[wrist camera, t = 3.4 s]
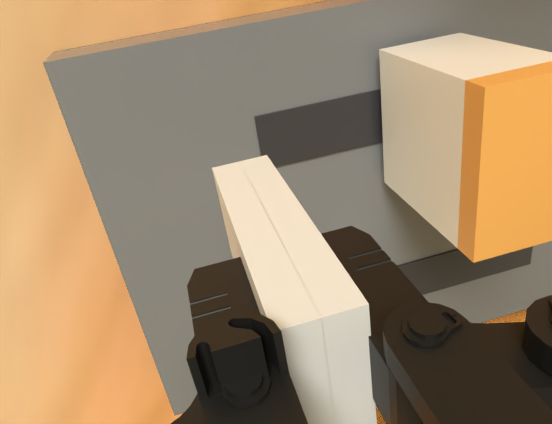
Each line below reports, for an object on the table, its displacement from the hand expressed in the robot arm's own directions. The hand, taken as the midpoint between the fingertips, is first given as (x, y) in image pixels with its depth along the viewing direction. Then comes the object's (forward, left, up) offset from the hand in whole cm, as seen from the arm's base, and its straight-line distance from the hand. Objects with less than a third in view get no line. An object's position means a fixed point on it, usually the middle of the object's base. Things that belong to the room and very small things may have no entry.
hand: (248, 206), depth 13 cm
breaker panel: (-7, +4, -6) cm, 10 cm away
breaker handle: (-7, 0, -4) cm, 8 cm away
